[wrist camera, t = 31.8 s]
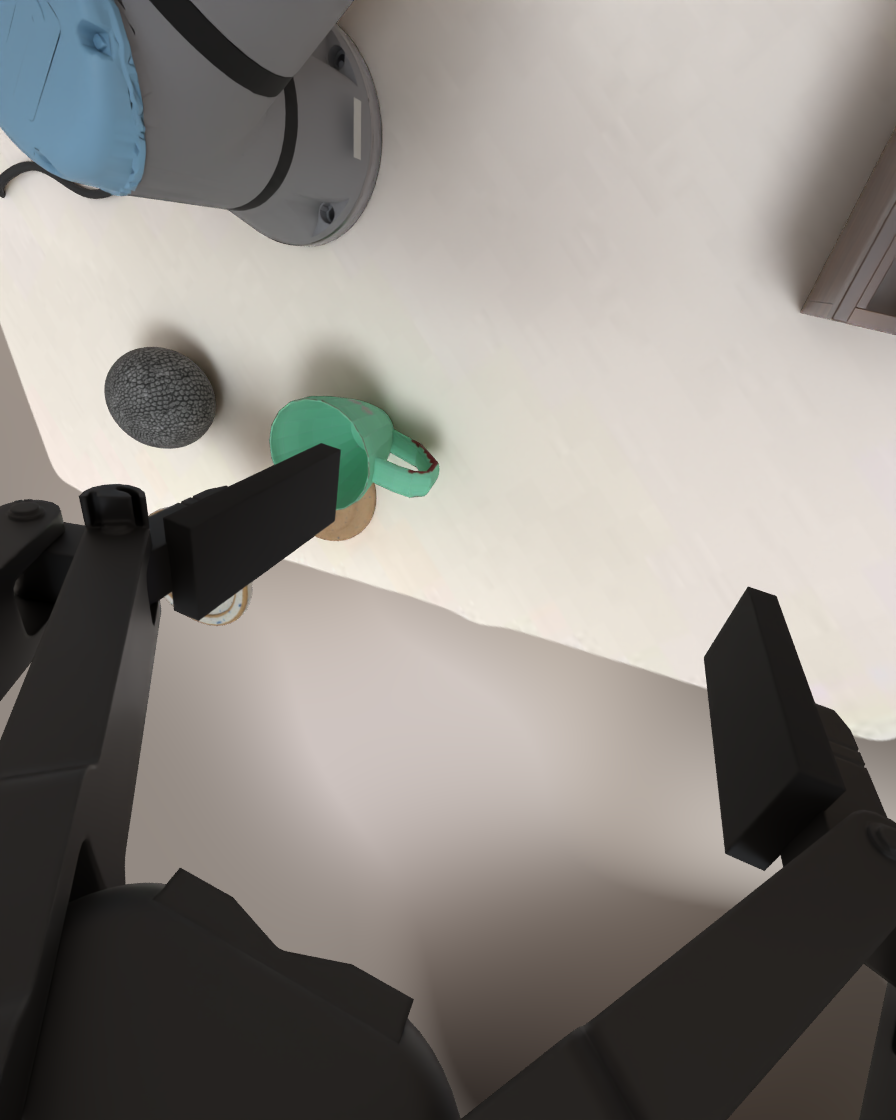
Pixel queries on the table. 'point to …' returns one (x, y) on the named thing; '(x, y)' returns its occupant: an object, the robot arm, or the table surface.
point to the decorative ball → (160, 397)
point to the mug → (353, 446)
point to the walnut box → (864, 257)
